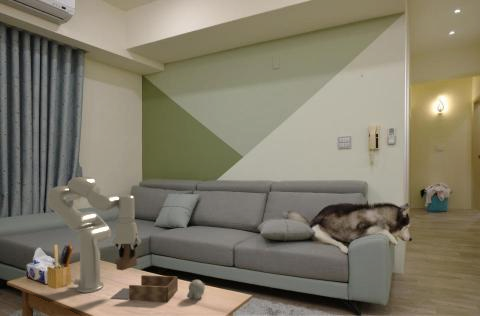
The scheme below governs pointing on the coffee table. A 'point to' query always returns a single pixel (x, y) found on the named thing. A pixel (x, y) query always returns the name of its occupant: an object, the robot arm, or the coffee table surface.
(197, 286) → the toy rhinoceros
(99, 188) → the robot arm
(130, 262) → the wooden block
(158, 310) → the coffee table surface
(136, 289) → the crate
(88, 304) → the coffee table surface
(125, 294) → the mat
